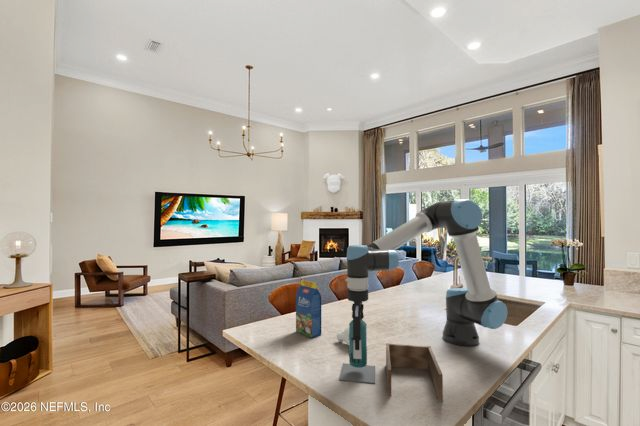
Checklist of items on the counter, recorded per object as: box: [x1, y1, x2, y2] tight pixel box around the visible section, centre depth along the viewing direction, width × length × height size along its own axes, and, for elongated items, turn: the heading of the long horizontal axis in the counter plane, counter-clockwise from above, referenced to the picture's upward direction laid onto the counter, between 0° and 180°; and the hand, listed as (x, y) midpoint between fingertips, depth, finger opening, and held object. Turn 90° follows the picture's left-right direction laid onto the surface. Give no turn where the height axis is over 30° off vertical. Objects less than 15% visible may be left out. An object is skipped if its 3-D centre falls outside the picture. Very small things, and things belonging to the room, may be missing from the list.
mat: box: [338, 363, 376, 385], centre depth 109 cm, size 12×12×1 cm
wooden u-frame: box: [385, 342, 444, 402], centre depth 103 cm, size 16×21×8 cm
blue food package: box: [295, 279, 322, 339], centre depth 148 cm, size 6×12×25 cm, turn 42°
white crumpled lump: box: [336, 326, 349, 346], centre depth 134 cm, size 6×8×12 cm
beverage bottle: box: [348, 311, 368, 368], centre depth 109 cm, size 6×7×20 cm
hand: (358, 353), depth 109 cm, fingers open, 6 cm apart
